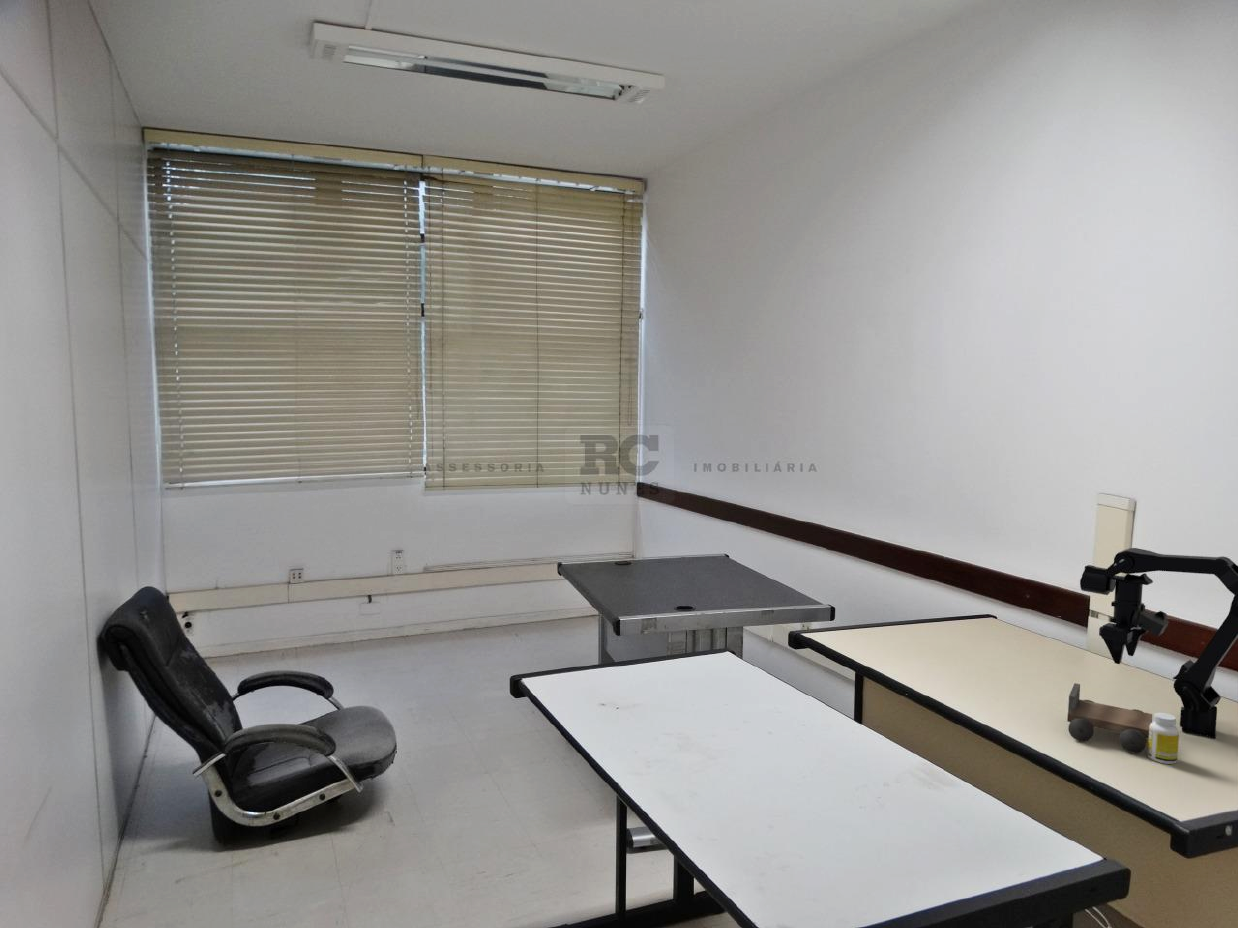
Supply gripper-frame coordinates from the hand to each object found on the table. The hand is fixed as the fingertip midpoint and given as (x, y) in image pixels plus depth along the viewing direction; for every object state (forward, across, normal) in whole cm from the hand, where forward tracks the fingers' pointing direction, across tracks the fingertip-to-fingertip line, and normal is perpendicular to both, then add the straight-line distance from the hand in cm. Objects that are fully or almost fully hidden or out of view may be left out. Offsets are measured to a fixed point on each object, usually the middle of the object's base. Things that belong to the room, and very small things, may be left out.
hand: (1124, 659), depth 202 cm
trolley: (+13, -20, -4) cm, 24 cm away
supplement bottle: (+13, -23, -16) cm, 31 cm away
